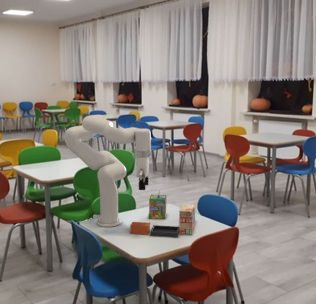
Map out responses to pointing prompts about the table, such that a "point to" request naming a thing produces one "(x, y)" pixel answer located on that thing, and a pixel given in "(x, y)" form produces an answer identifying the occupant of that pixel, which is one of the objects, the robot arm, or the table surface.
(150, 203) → the chalk box
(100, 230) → the table surface
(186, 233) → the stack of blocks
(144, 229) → the orange rectangular block
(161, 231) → the frame
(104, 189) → the robot arm
